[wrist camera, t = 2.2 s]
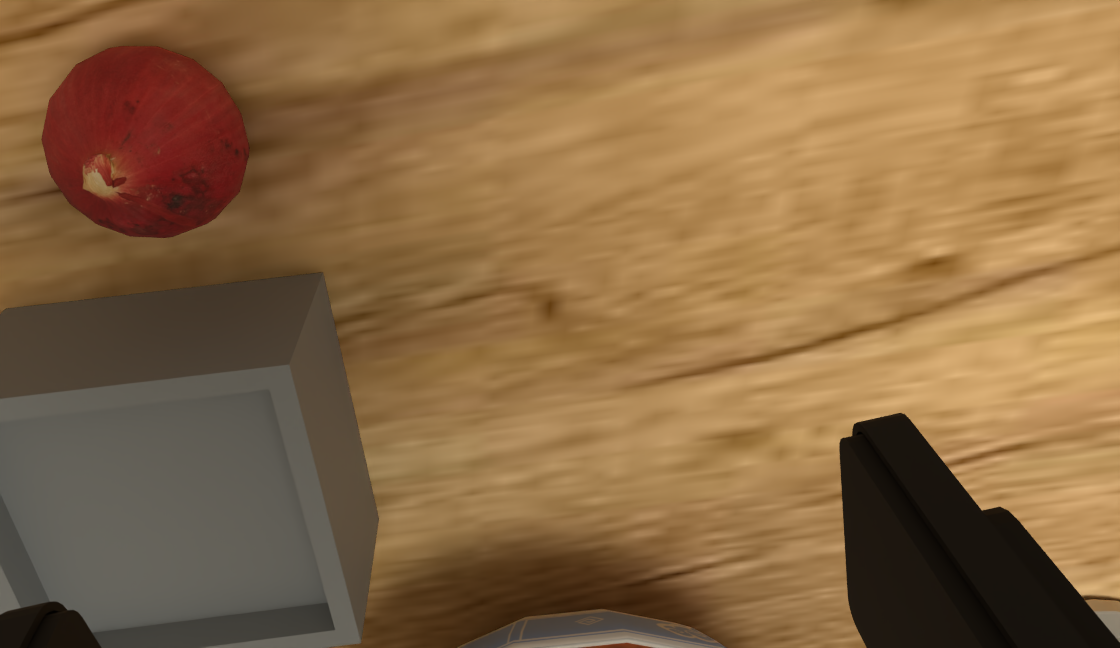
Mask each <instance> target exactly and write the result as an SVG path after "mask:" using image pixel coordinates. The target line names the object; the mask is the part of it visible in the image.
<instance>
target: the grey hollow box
mask: <svg viewBox="0 0 1120 648" xmlns="http://www.w3.org/2000/svg"><path fill="white" fill-rule="evenodd" d="M378 521H379V517H378V513H377V508H376V504H375V500H374V495H373V491H372V486H371V482H370V478H369V473H368V469H367V464H366V460H365V456H364V451H363V447H362V442H361V438H360V433H359V429H358V425H357V420H356V416H355V411H354V407H353V403H352V398H351V394H350V389H349V385H348V381H347V376H346V372H345V367H344V363H343V359H342V354H341V350H340V345H339V341H338V336H337V332H336V328H335V323H334V319H333V314H332V310H331V306H330V301H329V297H328V292H327V288H326V284H325V279H324V275H323V272H322V273H313V274H305V275H296V276H287V277H278V278H270V279H261V280H252V281H243V282H235V283H226V284H217V285H209V286H200V287H191V288H182V289H174V290H165V291H156V292H147V293H139V294H130V295H121V296H113V297H104V298H95V299H86V300H78V301H69V302H60V303H51V304H43V305H34V306H25V307H17V308H8V309H5V310H4V311H3V312H2V313H1V314H0V615H1V614H3V613H4V612H6V611H10V610H14V609H19V608H23V607H28V606H32V605H37V604H41V603H46V602H53V601H57V602H59V603H61V604H63V605H64V607H65V608H66V609H67V610H75V611H77V612H79V614H80V615H81V616H82V617H83V619H84V620H85V622H86V624H87V625H88V627H89V628H90V630H91V632H92V633H93V635H94V636H95V638H96V640H97V641H98V643H99V644H100V646H101V648H328V647H335V646H343V645H351V644H359V643H361V640H362V633H363V626H364V619H365V612H366V605H367V598H368V591H369V584H370V577H371V570H372V563H373V556H374V549H375V542H376V535H377V528H378Z"/></svg>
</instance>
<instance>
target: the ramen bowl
mask: <svg viewBox="0 0 1120 648" xmlns="http://www.w3.org/2000/svg"><path fill="white" fill-rule="evenodd" d="M456 648H726V647H725V646H723V645H722V644H720V643H719V642H717V641H716V640H714V639H712V638H711V637H709V636H707V635H705V634H703V633H701V632H700V631H698V630H696V629H694V628H692V627H689V626H685V625H681V624H678V623H674V622H669V621H664V620H658V619H653V618H648V617H643V616H637V615H632V614H627V613H622V612H617V611H611V610H606V609H597V610H587V611H577V612H568V613H558V614H549V615H539V616H529V617H524V618H522V619H520V620H517V621H515V622H513V623H511V624H508V625H506V626H504V627H502V628H499V629H497V630H495V631H492V632H490V633H488V634H486V635H483V636H481V637H479V638H477V639H474V640H472V641H470V642H467V643H465V644H463V645H461V646H458V647H456Z"/></svg>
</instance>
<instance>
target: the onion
mask: <svg viewBox="0 0 1120 648" xmlns="http://www.w3.org/2000/svg"><path fill="white" fill-rule="evenodd" d="M42 143H43V147H44V151H45V156H46V160H47V164H48V168H49V172H50V175H51V177H52V178H53V180H54V181H55V183H56V184H57V186H58V187H59V189H60V190H61V192H62V193H63V194H64V196H65V197H66V199H67V200H68V202H69V203H70V204H71V205H72V206H74V207H75V208H76V209H77V210H79V211H80V212H81V213H83V214H84V215H85V216H87V217H88V218H89V219H91V220H92V221H93V222H95V223H96V224H98V225H100V226H103V227H106V228H109V229H111V230H114V231H117V232H120V233H122V234H125V235H128V236H133V237H156V238H167V237H173V236H176V235H179V234H181V233H184V232H187V231H189V230H192V229H194V228H197V227H200V226H202V225H205V224H207V223H209V222H210V221H212V220H213V219H215V218H216V217H217V216H218V215H219V214H220V213H221V211H222V210H223V209H224V208H225V207H226V206H227V205H228V204H229V203H230V202H231V200H232V199H233V198H234V197H235V196H236V195H237V194H238V193H239V192H240V188H241V185H242V181H243V177H244V173H245V169H246V165H247V161H248V157H249V149H250V147H249V143H248V139H247V135H246V131H245V127H244V123H243V119H242V115H241V113H240V111H239V109H238V108H237V106H236V105H235V103H234V101H233V100H232V98H231V97H230V95H229V93H228V92H227V90H226V89H225V87H224V85H223V84H222V82H220V81H219V80H218V79H217V78H215V77H214V76H213V75H212V74H210V73H209V72H208V71H207V70H206V69H204V68H203V67H202V66H201V65H199V64H198V63H197V62H196V61H195V60H193V59H191V58H188V57H185V56H183V55H180V54H177V53H174V52H171V51H169V50H166V49H163V48H160V47H157V46H119V47H114V48H108V49H106V50H104V51H102V52H100V53H98V54H96V55H94V56H92V57H90V58H88V59H86V60H84V61H82V62H80V63H78V64H76V66H75V67H74V68H73V69H72V71H71V72H70V73H69V75H68V76H67V77H66V79H65V80H64V81H63V83H62V84H61V85H60V86H59V88H58V89H57V90H56V92H55V93H54V94H53V96H52V97H51V98H50V100H49V105H48V110H47V114H46V119H45V124H44V129H43V135H42Z"/></svg>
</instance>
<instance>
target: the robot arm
mask: <svg viewBox="0 0 1120 648" xmlns="http://www.w3.org/2000/svg"><path fill="white" fill-rule="evenodd" d="M840 466H841V483H842V501H843V518H844V536H845V553H846V571H847V588H848V601H849V606H850V610H851V614H852V617H853V620H854V622H855V625H856V627H857V629H858V631H859V633H860V635H861V637H862V639H863V641H864V643H865V645H866V647H867V648H1120V602H1119V601H1114V600H1097V599H1091V600H1084V599H1083V598H1082V596H1081V595H1080V594H1079V593H1078V592H1077V590H1076V589H1075V588H1074V587H1073V586H1072V584H1071V583H1070V582H1069V581H1068V580H1067V578H1066V577H1065V576H1064V575H1063V574H1062V572H1061V571H1060V570H1059V569H1058V568H1057V566H1056V565H1055V564H1054V563H1053V562H1052V560H1051V559H1050V558H1049V557H1048V556H1047V554H1046V553H1045V552H1044V551H1043V550H1042V548H1041V547H1040V546H1039V545H1038V544H1037V542H1036V541H1035V540H1034V539H1033V538H1032V536H1031V535H1030V534H1029V533H1028V531H1027V530H1026V529H1025V528H1024V527H1023V525H1022V524H1021V523H1020V522H1019V521H1018V520H1017V519H1016V518H1015V517H1014V516H1013V515H1012V514H1011V513H1010V512H1009V511H1008V510H1006V509H1003V508H1001V507H997V508H992V509H987V510H983V511H982V510H981V509H980V508H979V506H978V505H977V504H976V503H975V501H974V500H973V499H972V498H971V496H970V495H969V494H968V493H967V491H966V490H965V489H964V488H963V486H962V485H961V484H960V482H959V481H958V480H957V479H956V477H955V476H954V475H953V474H952V472H951V471H950V470H949V469H948V467H947V466H946V465H945V463H944V462H943V461H942V460H941V458H940V457H939V456H938V455H937V453H936V452H935V451H934V450H933V448H932V447H931V446H930V444H929V443H928V442H927V441H926V439H925V438H924V437H923V436H922V434H921V433H920V432H919V431H918V429H917V428H916V427H915V425H914V424H913V423H912V422H911V420H910V419H909V418H908V417H907V416H906V415H905V414H902V413H898V414H893V415H889V416H884V417H880V418H875V419H871V420H866V421H862V422H857V423H856V424H854V426H853V431H852V436H851V437H846V438H842V439H841V440H840ZM0 648H101V646H100V644H99V643H98V641H97V640H96V638H95V636H94V635H93V633H92V632H91V630H90V628H89V627H88V625H87V624H86V622H85V620H84V619H83V617H82V616H81V615H80V614H79V612H77V611H75V610H67V609H66V608H65V607H64V605H63V604H61V603H59V602H57V601H53V602H46V603H41V604H37V605H32V606H28V607H23V608H19V609H14V610H10V611H6V612H4V613H3V614H1V615H0Z"/></svg>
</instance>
